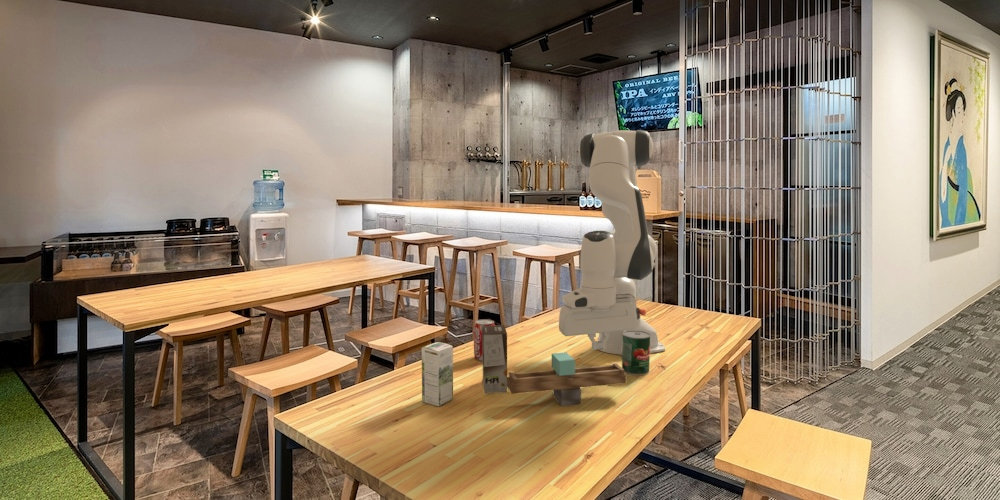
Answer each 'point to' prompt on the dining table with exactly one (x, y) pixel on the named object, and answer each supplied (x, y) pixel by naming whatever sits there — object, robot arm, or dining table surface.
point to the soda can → (480, 336)
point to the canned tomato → (636, 352)
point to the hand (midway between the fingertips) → (598, 348)
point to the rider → (563, 364)
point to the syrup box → (437, 373)
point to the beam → (566, 382)
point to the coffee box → (494, 358)
